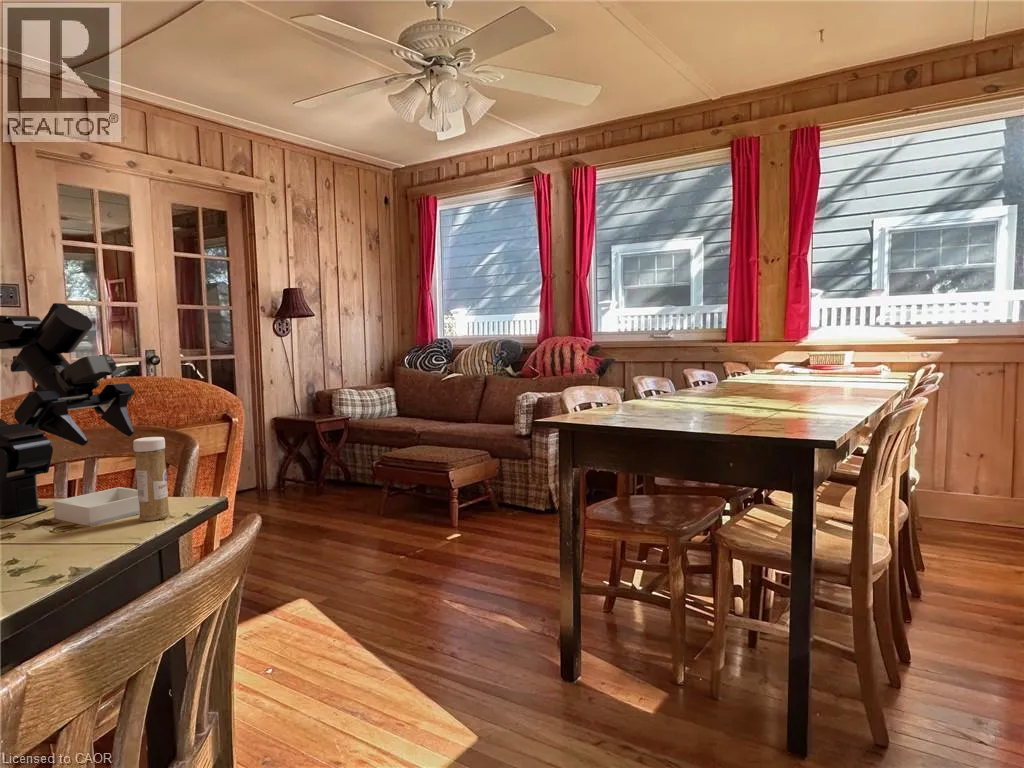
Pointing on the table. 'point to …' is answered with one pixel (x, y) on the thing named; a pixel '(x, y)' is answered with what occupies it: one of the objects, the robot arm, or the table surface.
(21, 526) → the table surface
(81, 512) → the grey bin
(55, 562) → the table surface
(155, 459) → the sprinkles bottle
